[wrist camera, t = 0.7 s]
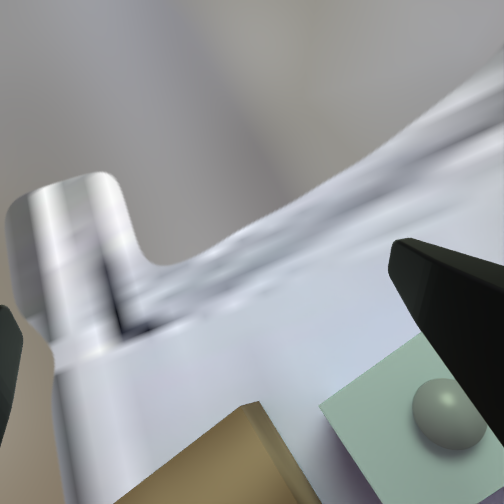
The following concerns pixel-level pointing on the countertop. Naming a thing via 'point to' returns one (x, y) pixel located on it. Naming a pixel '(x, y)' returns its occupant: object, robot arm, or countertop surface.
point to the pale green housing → (416, 431)
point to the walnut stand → (229, 467)
